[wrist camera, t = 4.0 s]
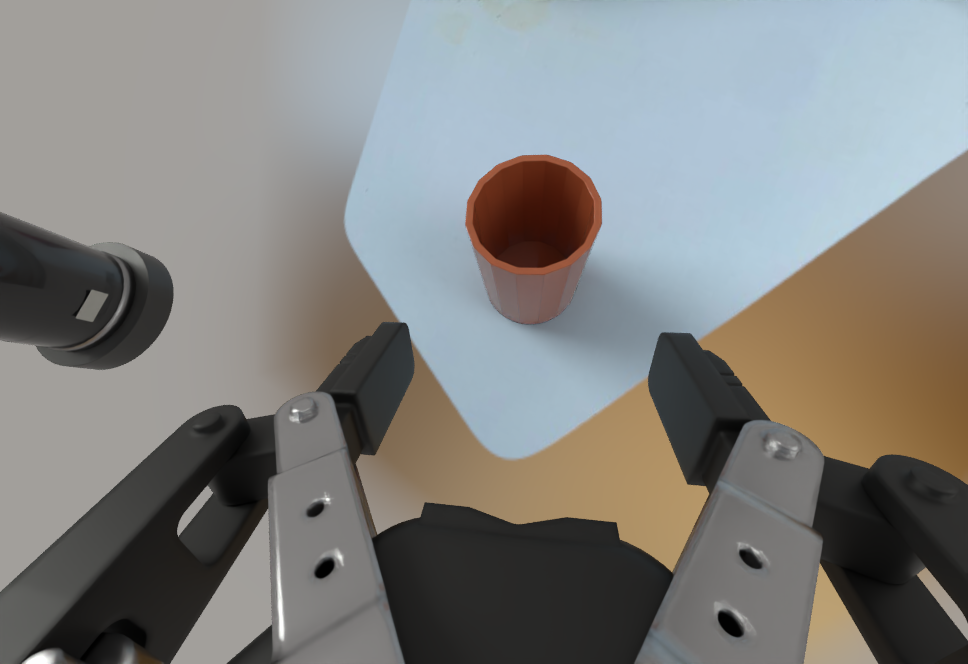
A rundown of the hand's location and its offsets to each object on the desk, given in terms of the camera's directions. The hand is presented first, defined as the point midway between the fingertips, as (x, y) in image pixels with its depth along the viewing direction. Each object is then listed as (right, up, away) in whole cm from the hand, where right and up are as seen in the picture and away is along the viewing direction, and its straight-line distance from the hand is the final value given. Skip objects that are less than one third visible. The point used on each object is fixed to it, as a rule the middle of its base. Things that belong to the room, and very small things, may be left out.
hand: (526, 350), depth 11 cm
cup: (+2, +4, +13) cm, 14 cm away
